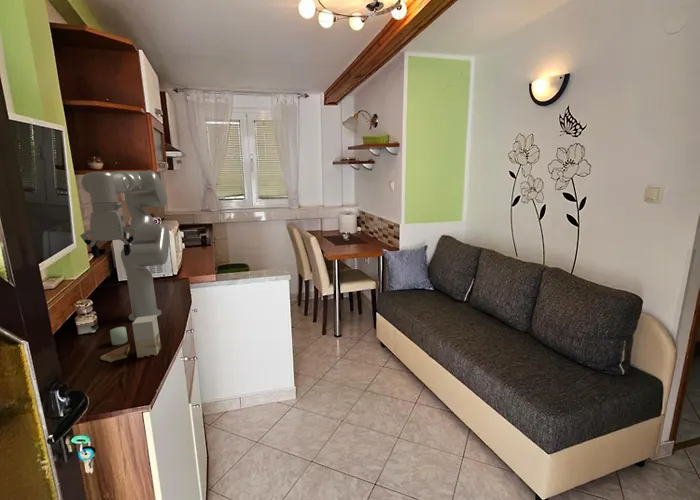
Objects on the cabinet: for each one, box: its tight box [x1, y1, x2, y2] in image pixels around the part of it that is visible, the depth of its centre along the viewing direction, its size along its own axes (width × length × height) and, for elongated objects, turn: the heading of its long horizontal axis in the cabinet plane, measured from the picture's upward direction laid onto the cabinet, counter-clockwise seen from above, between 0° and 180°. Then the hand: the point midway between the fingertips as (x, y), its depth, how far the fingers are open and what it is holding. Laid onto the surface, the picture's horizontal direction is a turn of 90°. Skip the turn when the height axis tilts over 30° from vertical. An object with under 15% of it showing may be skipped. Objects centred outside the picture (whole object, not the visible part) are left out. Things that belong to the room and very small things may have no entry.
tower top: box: [131, 315, 160, 342], centre depth 128 cm, size 6×6×6 cm
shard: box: [100, 342, 131, 363], centre depth 129 cm, size 11×8×2 cm
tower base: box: [134, 331, 162, 358], centre depth 129 cm, size 6×6×6 cm
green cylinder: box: [109, 326, 129, 346], centre depth 139 cm, size 5×5×5 cm
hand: (112, 256), depth 135 cm, fingers open, 9 cm apart
